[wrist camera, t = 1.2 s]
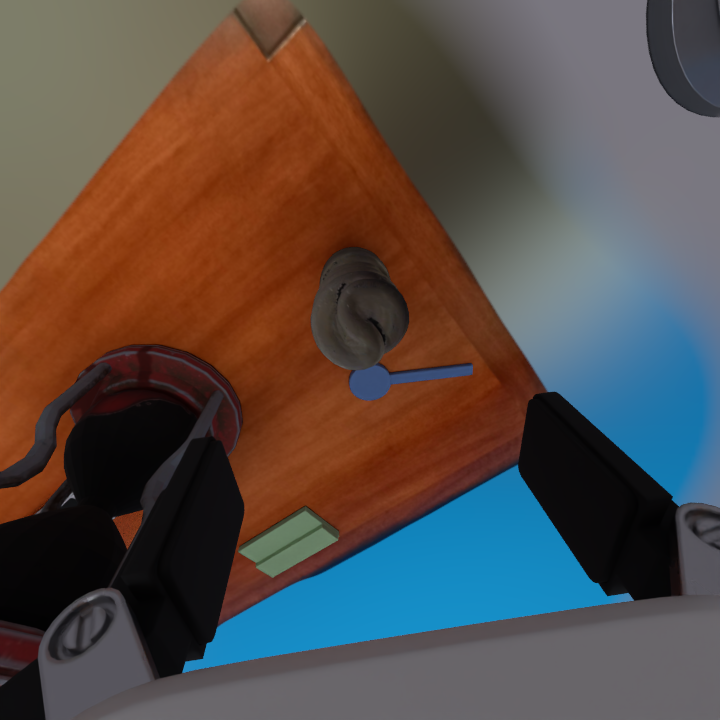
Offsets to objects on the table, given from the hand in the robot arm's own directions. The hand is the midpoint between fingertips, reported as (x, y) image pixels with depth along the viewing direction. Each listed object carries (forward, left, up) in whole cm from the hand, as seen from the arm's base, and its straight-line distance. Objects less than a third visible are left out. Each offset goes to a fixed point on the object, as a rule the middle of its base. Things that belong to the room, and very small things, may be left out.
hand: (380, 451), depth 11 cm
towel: (+12, +36, -24) cm, 44 cm away
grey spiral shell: (0, 0, -24) cm, 24 cm away
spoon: (-5, +12, -24) cm, 27 cm away
